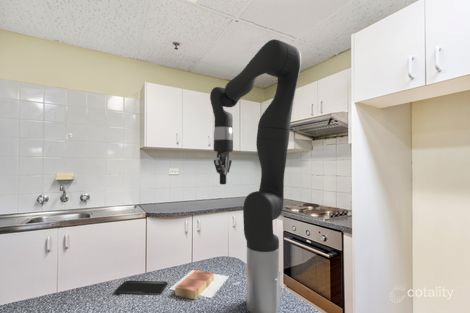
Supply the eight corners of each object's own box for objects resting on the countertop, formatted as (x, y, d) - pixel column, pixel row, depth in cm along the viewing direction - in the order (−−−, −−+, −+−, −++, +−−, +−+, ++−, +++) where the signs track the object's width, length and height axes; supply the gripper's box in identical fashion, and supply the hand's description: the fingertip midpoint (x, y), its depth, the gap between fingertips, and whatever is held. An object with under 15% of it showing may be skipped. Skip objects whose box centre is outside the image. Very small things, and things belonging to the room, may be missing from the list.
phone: (125, 280, 84) (168, 281, 83) (125, 283, 84) (168, 285, 83) (112, 292, 76) (160, 294, 75) (112, 296, 76) (160, 297, 75)
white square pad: (229, 277, 88) (229, 276, 88) (211, 299, 74) (211, 298, 74) (192, 271, 93) (192, 269, 93) (168, 290, 79) (168, 289, 79)
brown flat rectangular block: (213, 273, 85) (195, 291, 73) (213, 280, 85) (195, 299, 73) (195, 269, 87) (175, 287, 75) (195, 276, 87) (175, 295, 75)
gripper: (226, 137, 87) (225, 186, 87) (238, 140, 100) (237, 183, 99) (207, 138, 90) (206, 185, 89) (221, 141, 102) (220, 182, 102)
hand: (223, 184), depth 94 cm, fingers closed
